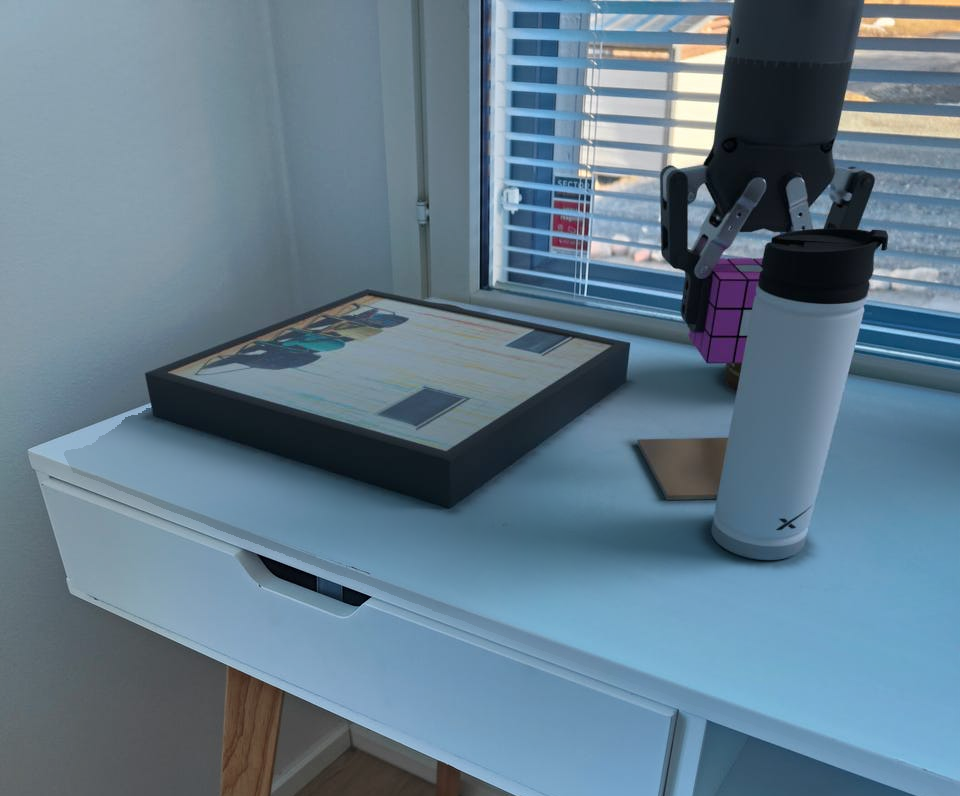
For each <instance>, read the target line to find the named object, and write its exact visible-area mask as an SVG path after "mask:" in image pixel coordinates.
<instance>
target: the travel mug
mask: <svg viewBox="0 0 960 796" xmlns="http://www.w3.org/2000/svg"><path fill="white" fill-rule="evenodd" d="M823 228H824V227H823ZM823 228H813V229H809V230H800V231H793V232H788V233H783V234H780V233H779V234H777V235H775V236H773V237H771V241H770V242H767V243H766V244H765V245H764V250H763V256H762V258H763V260H762V269H763V270H762V271H761V272H760V276H759V281H758V282H757V287H756V294H757V295H756V296H755V297H754V303H753V308H752V314H751V319H750V324H749V330H748V335H747V340H746V346H745V351H744V356H743V362H742V367H741V373H740V378H739V383H738V389H737V390H736V395H735V401H734V406H733V410H732V416H731V422H730V427H729V432H728V437H727V438H728V442H727V448H726V453H725V458H724V464H723V469H722V474H721V480H720V485H719V491H718V496H717V499H716V500H715V501H716V502H715V508H714V513H713V516H712V517H713V518H712V523H711V530H710V531H711V535H712V537H713V539H714V540H715V542H716V543H717V544H718V545H719V546H720V547H722V548H724V550H726V551H728V552H730V553H732V554H735V555H738V556H740V557H744V558H746V559H752V560H759V561H777V560H783V559H786V558H787V559H788V558H790V557H793V556H795V555H797V554H799V553H800V552H801V550H803V549H804V546H805V543H806V540H807V535H808V532H809V526H810V523H811V520H812V517H813V511H814V508H815V504H816V500H817V496H818V493H819V489H820V485H821V482H822V476H823V473H824V469H825V466H826V461H827V457H828V454H829V449H830V445H831V442H832V438H833V434H834V430H835V426H836V423H837V420H838V419H837V418H838V415H839V412H840V411H839V410H840V407H841V403H842V398H843V396H844V391H845V388H846V384H847V380H848V376H849V371H850V367H851V363H852V360H853V356H854V353H855V349H856V344H857V340H858V336H859V332H860V330H861V329H860V328H861V325H862V321H863V318H864V313H865V307H864V306H865V305H866V304H867V301H868V297H869V290H870V286H871V283H870V280H871V279H872V278H873V275H874V274H873V273H874V269H875V262H874V261H875V252H876V250H877V249H878V248H880V246H881V248H880V249H881V251H886V250H887V249H888V244H889V234H888V232H887V230H883V229H871V230H870V231H869V230H865V229H859V228H858V229H844V228H824V229H823Z"/></svg>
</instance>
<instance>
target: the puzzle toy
mask: <svg viewBox="0 0 960 796" xmlns="http://www.w3.org/2000/svg"><path fill="white" fill-rule="evenodd" d="M762 260H763V257H760V258H759V257H757V258H752V257H749V258H748V257H747V258H746V257H740V258H739V257H728V258H726V257H720V259H719V260H718V262H717V264H716V266H715V267H714V269H713V271H712V272H711V274H710V275H709V277H710V278H711V279H712V287H711V293H710V299H709V306H708V312H707V319H706V325H705V330H704V332H703V333H693V332H692V331H691V330H690V329H689V331H688V339H690V341H691V342H692V344H693V345H694V347H695V348H696V350H697V351H698V353H699V355H700V356H701V357H702V359H703V360H704V362H706V364H711V365H713V364H717V365H718V364H722V365H723V364H725V365H726V364H731V363H734V364H742V362H743V356H744V351H745V346H746V340H747V335H748V330H749V324H750V319H751V314H752V308H753V303H754V297H755V296H756V295H757V294H756V287H757V282H758V281H759V276H760V272H761V271H762V270H763V269H762Z"/></svg>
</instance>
